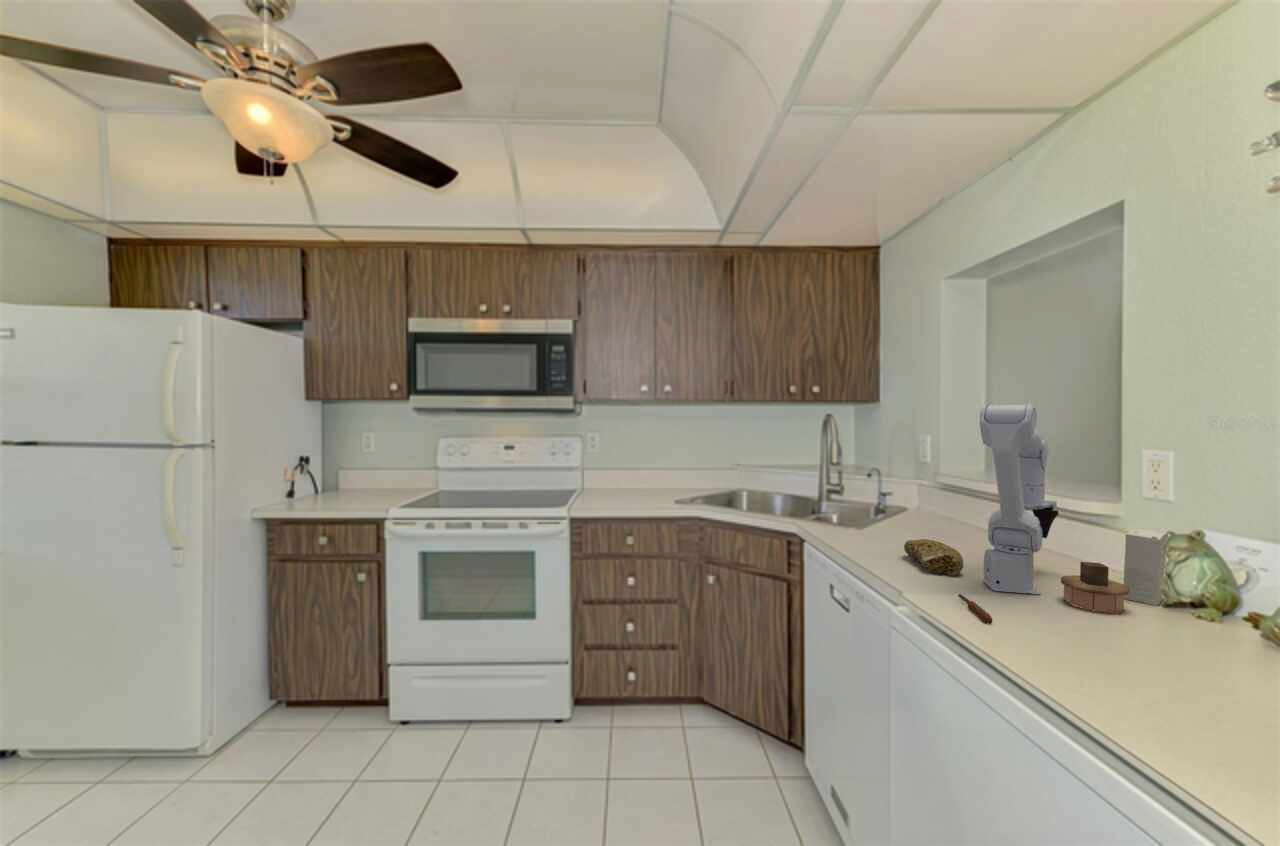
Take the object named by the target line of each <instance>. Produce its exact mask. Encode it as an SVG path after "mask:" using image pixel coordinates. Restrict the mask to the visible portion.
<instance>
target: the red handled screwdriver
mask: <svg viewBox="0 0 1280 846" xmlns="http://www.w3.org/2000/svg"><path fill="white" fill-rule="evenodd" d="M958 597H959V599H961V600H962V601H963V602H964V601H965V602H966V603H967V604H968V605H967V604H966V603H965V602H964V603H965V604H966V605H967V609H968V608H969V609H970V610H971V612H972V611H973V612H974V613H975V614H976V615H977V616H978V617H979V618H980V619H981V620H982V621H981V620H980V619H979V618H978V617H977V616H976V615H975V614H974V613H973V612H972V613H973V614H974V615H975V616H976V617H977V618H978V619H979V620H980V621H981V622H982V623H984V622H985V623H984V624H986V623H989V624H988V625H990V624H992V623H993V618H992V615H991V614H989V612H987V611H986V610H985V609H983V608H982V607H981V606H980V605H979V604H977V603H976V602H975V601H973V600H969V599H968V598H967V597H966V596H964V595H963V594H961V593H958ZM969 609H968V610H969ZM970 610H969V611H970Z"/></svg>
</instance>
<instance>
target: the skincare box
mask: <svg viewBox="0 0 1280 846" xmlns="http://www.w3.org/2000/svg"><path fill="white" fill-rule="evenodd" d="M1165 543H1166V544H1167V533H1166V532H1161V531H1155V530H1146V529H1141V528H1132V529H1130V530H1129V531H1128V532H1127V533H1126V534H1125V550H1124V551H1125V552H1124V567H1123V568H1124V569H1123V570H1124V571H1123V584H1124V585H1126V586H1127V587H1129V594H1127V595H1124V600H1127V599H1129V601H1132V600H1134V601H1133V602H1137V601H1140V602H1139V603H1141V602H1144V603H1143V604H1146V603H1148V604H1147V605H1151V604H1153V605H1152V606H1156V605H1157V606H1159V604H1160V603H1161V602H1162V600H1163V598H1164V597H1162V593H1161V591H1160V590H1161V589H1160V587H1161V583H1162V578H1163V576H1164V569H1165V570H1166V558H1167V557H1166V555H1167V553H1166V554H1165V552H1164V545H1165Z"/></svg>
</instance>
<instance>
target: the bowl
mask: <svg viewBox="0 0 1280 846" xmlns="http://www.w3.org/2000/svg"><path fill="white" fill-rule="evenodd" d="M1064 599H1065V600H1066V601H1068V602H1069V603H1071V604H1073V605H1076V606H1078V607H1082V608H1085V609H1084V610H1086V609H1088V610H1087V611H1090V610H1092V611H1091V612H1094V611H1098V612H1097V613H1105V612H1109V613H1108V614H1118V613H1120V612H1124V611H1123V610H1125V609H1124V607H1125V599H1124V595H1102V594H1095V593H1089V592H1084V591H1080V590H1076V589H1073V588H1070V587H1067V586H1065V585H1063V600H1064ZM1066 601H1065V602H1066ZM1078 607H1077V608H1078ZM1082 608H1081V609H1082ZM1093 610H1094V611H1093Z"/></svg>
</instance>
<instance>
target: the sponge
mask: <svg viewBox="0 0 1280 846" xmlns="http://www.w3.org/2000/svg"><path fill="white" fill-rule="evenodd" d="M903 548H904V552H905V553H906V554H907V555H908V557H910V558H911V559H913V560H914V561H917V562H920V564H921V566H922V567H923V568H924V569H925V570H927V571H929V572H932V573H934V574H941V575H943V574H944V575H947V574H948V575H947V576H950V575H951V576H952V577H953V576H956V575H958V574H960V573H961V571H962V569H963V568H964V559H963V558H964V557H962V554H961V553H960V552H959V551H958V550H957V549H956V548H953V547H952V546H949V545H948V544H945V543H944V542H941V541H936V540H932V539H929V538H928V539H926V538H920V539H910V540H907V541H905V542H904V545H903Z"/></svg>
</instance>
